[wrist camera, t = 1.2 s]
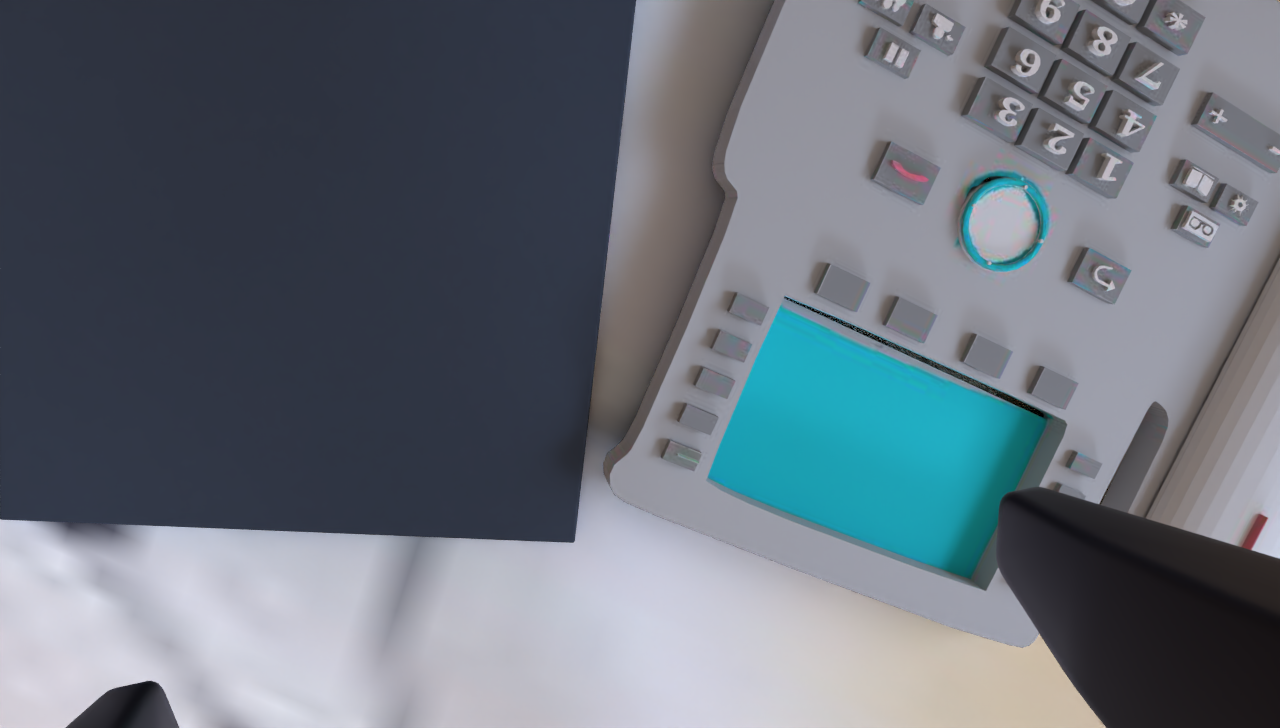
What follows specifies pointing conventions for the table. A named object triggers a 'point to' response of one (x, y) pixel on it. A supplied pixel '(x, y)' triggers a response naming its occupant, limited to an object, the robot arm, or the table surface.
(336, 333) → the desk pad
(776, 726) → the table surface
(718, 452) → the office telephone
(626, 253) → the table surface
